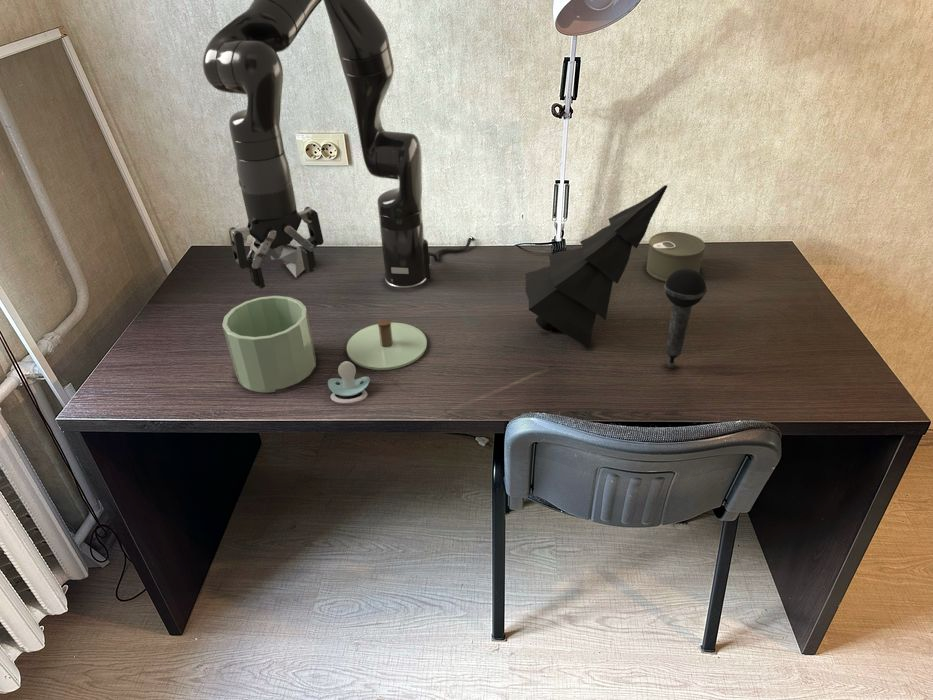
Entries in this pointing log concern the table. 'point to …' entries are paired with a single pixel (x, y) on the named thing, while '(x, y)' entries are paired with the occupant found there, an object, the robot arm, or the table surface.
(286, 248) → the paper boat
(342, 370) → the pacifier
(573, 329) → the decorative tree
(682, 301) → the microphone
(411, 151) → the robot arm
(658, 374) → the table surface
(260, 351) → the crock
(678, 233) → the can
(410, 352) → the lid
